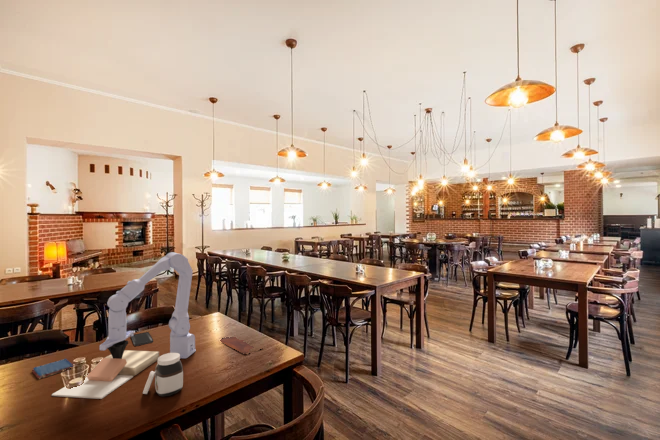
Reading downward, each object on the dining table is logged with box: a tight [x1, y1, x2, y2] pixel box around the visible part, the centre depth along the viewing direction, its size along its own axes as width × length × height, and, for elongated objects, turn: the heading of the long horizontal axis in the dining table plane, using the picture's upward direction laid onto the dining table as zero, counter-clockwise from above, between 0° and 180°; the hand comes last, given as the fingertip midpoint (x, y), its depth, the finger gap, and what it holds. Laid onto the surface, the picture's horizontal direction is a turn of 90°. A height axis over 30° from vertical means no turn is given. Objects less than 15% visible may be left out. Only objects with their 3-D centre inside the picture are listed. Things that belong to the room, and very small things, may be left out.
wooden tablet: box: [220, 336, 254, 355], centre depth 145 cm, size 27×10×2 cm, turn 48°
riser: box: [104, 349, 160, 377], centre depth 124 cm, size 18×14×3 cm
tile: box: [87, 357, 127, 381], centre depth 115 cm, size 9×8×2 cm
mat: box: [51, 372, 134, 400], centre depth 109 cm, size 18×14×1 cm
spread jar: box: [142, 352, 184, 397], centre depth 105 cm, size 12×11×12 cm
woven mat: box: [31, 358, 74, 380], centre depth 120 cm, size 10×11×2 cm
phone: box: [130, 331, 154, 347], centre depth 151 cm, size 8×1×15 cm
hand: (117, 361), depth 119 cm, fingers closed
